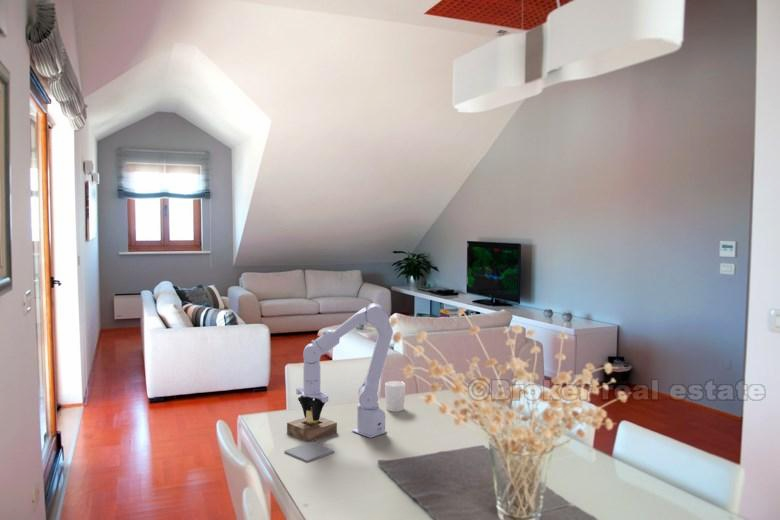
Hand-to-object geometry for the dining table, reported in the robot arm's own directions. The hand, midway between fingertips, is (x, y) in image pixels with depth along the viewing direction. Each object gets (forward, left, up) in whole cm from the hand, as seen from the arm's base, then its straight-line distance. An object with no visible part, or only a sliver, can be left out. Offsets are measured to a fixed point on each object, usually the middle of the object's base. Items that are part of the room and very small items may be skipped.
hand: (311, 418), depth 206 cm
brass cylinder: (0, 0, -5) cm, 5 cm away
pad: (-13, +12, -5) cm, 18 cm away
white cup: (-3, -39, -5) cm, 39 cm away
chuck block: (0, 0, -5) cm, 5 cm away
